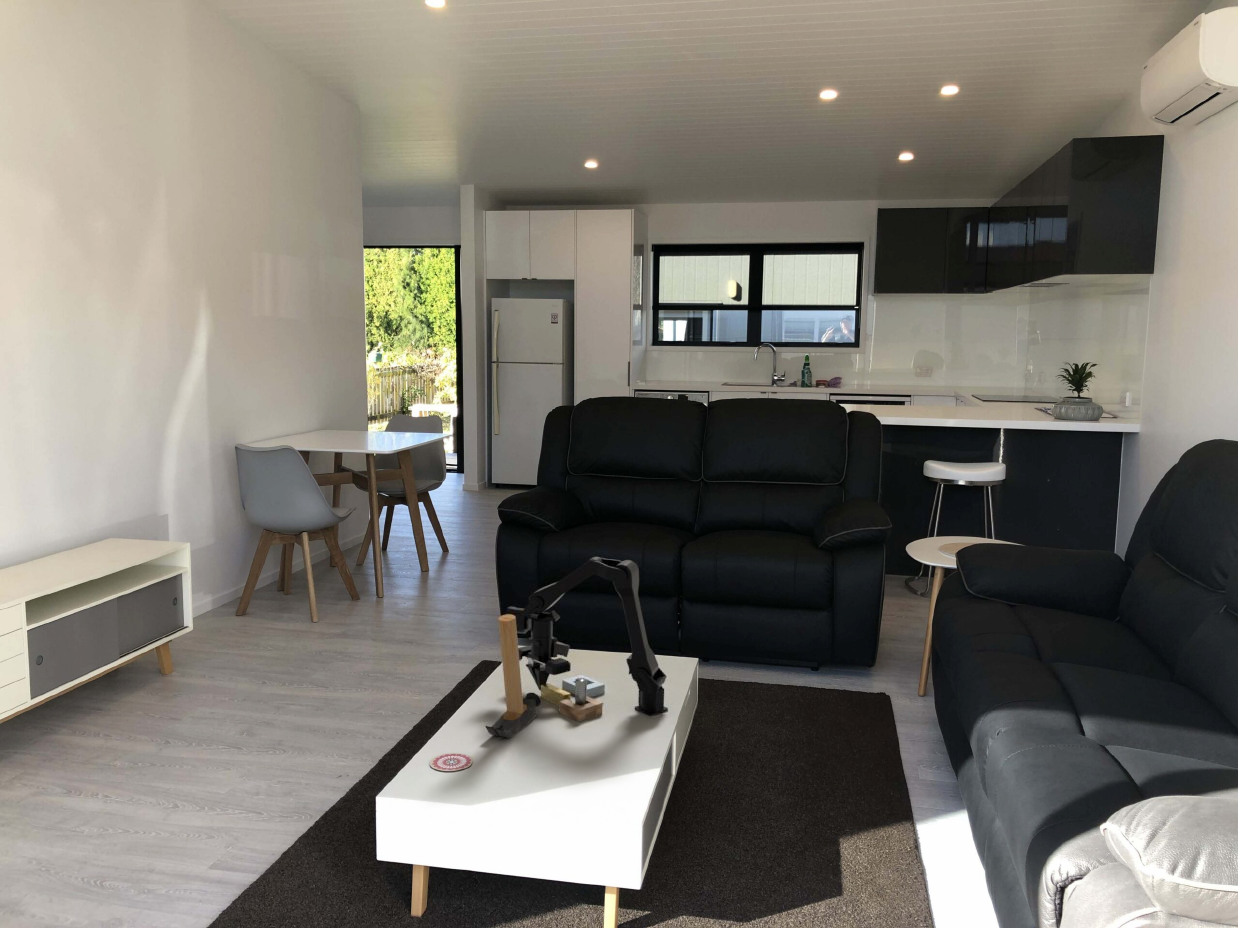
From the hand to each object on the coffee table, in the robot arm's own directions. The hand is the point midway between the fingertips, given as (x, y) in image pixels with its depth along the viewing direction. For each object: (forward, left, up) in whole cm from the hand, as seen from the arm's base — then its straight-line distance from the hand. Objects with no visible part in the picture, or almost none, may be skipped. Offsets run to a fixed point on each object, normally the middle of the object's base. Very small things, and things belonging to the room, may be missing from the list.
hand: (541, 690), depth 252 cm
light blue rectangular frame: (-5, -11, -1) cm, 12 cm away
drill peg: (-17, 0, -1) cm, 17 cm away
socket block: (-17, 0, -1) cm, 17 cm away
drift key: (-6, 0, -1) cm, 7 cm away
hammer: (-13, +19, -2) cm, 23 cm away
